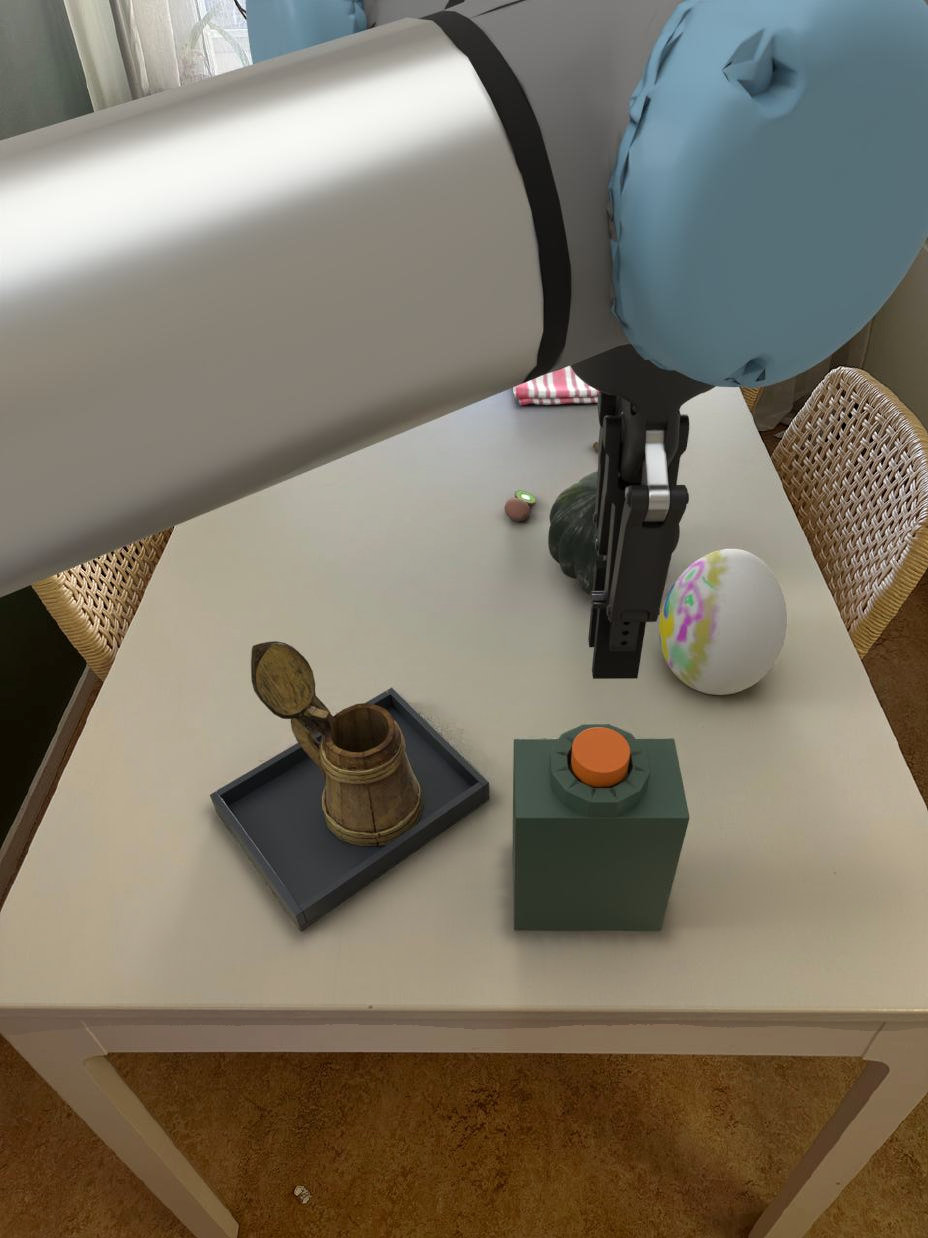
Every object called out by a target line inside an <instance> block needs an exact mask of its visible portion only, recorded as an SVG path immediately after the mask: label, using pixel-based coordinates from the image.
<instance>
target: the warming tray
mask: <svg viewBox="0 0 928 1238" xmlns="http://www.w3.org/2000/svg"><path fill="white" fill-rule="evenodd" d="M365 703H369V704H374V705H377V706H380V707H382V708H384V709H386V710H387V711H388V712H389V713H390V715H391V716H392V718H393V719H394V721H395V722H396V723H397V725H398V727H399V728H400V730H401V732H402V734H403V737H404V741H405V752H406V755H407V758H408V760H409V763H410V766H411V768H412V771H413V774H414V775H415V777H416V779H417V781H418V783H419V785H420V787H421V790H422V793H423V800H424V804H423V810H422V814H421V816H420V818H419V820H418V823H417V824H416V825H415V826H414V827H413V828H411V829H410V830H408V831H407V832H405V833H404V834H402V835H401V836H399V837H398V838H397V839H395V840H394V841H392V842H391V843H389V844H388V845H385V846H358V845H354V844H351V843H349V842H346V841H342V840H340V839H339V838H338V837H337V836H336V835H335V834H334V833H333V832H332V831H331V830H330V829H329V828H328V826H327V823H326V820H325V816H324V812H323V808H322V795H323V791H324V788H325V786H326V780H325V778H324V776H323V773H322V771H321V770H320V768H319V767H318V766H317V765H316V763H315V762H314V761H313V760H312V759H311V758H310V757H309V755H308V754H307V753H306V752H305V751H304V749H303V748H302V747H301V745H300V744H299V743H298V742H297V743H295V744H293V745H291V746H289V747H288V748H286V749H284V750H283V751H281V752H279V753H278V754H276V755H274V756H273V757H271V758H269V759H267V760H265V761H264V762H263V763H261V764H259V765H257V766H256V767H254V768H252V769H251V770H249V771H247V772H245V773H244V774H243V775H240V776H239V777H237V778H235V779H234V780H232V781H231V782H229V783H227V784H226V785H224V786H222V787H220V788H219V789H217V790H216V791H213V792H212V793H210V794H209V797H210V800H211V802H212V805H213V807H214V810H215V812H216V813H217V815H218V816H219V818H220V819H221V821H222V822H223V823H224V825H225V826H226V828H227V829H228V831H229V832H230V833H231V835H232V836H233V838H234V839H235V841H236V842H237V843H238V844H239V846H240V848H241V849H242V850H243V852H244V853H245V854H246V856H247V857H248V859H249V860H250V862H251V863H252V864H253V866H254V867H255V869H256V870H257V872H258V873H259V874H260V877H262V879H263V880H264V882H265V883H266V884H267V886H268V887H269V889H270V890H271V892H272V893H273V894H274V896H275V897H276V898H277V900H278V902H279V903H280V904H281V905H282V907H283V909H284V910H285V912H286V913H287V914H288V915H289V917H290V918H291V920H292V921H293V923H294V924H295V925H296V927H297V928H298V930H299V931H300V932H303V931H304V930H305V929H307V928H308V927H310V926H311V925H313V924H314V923H315V922H317V921H319V919H321V918H323V917H324V916H325V915H327V914H328V913H329V912H331V911H332V910H334V909H335V908H337V907H338V906H340V905H341V904H343V903H344V902H345V901H347V900H348V899H350V898H351V897H352V896H354V895H356V893H358V892H360V891H361V890H362V889H363V888H365V887H367V886H368V885H369V884H371V883H372V882H374V881H375V880H377V879H379V877H381V876H383V874H385V873H387V872H388V871H389V870H390V869H392V868H394V867H395V866H397V865H398V864H400V863H401V862H402V861H404V860H405V859H407V858H408V857H409V856H411V855H412V854H413V853H415V852H417V851H418V850H419V849H421V848H423V846H425V845H426V844H428V843H429V842H431V841H432V840H433V839H435V838H437V836H438V837H439V835H440V834H442V833H444V832H445V831H446V830H448V829H450V828H451V827H452V826H453V825H455V824H456V823H458V822H459V821H461V820H462V819H463V818H465V817H466V816H468V815H470V814H471V813H472V812H474V811H475V810H476V809H478V808H479V807H481V806H482V805H483V804H485V803H486V802H488V801H490V799H491V797H490V782H489V781H488V780H487V779H486V778H485V777H484V776H483V774H481V773H480V772H479V771H478V770H477V769H476V768H475V767H474V766H473V765H472V764H471V763H470V761H468V760H467V759H466V758H465V757H464V756H463V755H462V754H460V752H459V751H458V750H457V749H456V748H455V747H454V746H453V745H452V744H450V742H448V740H447V739H445V738H444V737H443V735H441V734H440V733H439V732H438V731H437V730H436V729H435V728H434V726H433V725H431V724H430V723H429V722H428V721H427V720H426V719H425V717H423V716H422V715H421V713H419V712H418V711H417V710H416V709H415V708H414V707H413V706H412V705H411V704H410V703H409V702H408V701H407V700H406V699H405V698H404V697H403V696H402V695H400V693H399V692H398V691H396V689H394V688H393V687H390V688H388V689H386V690H384V691H382V692H381V693H379V694H377V695H376V696H375V697H373V698H371V699H369V700H367V701H366V702H365ZM312 735H313V737H314V738H315V739H316V740H317V741H318V742H321V738H322V735H323V734H321V733H317V734H316V735H314V734H312Z"/></svg>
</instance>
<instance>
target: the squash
mask: <svg viewBox="0 0 928 1238" xmlns="http://www.w3.org/2000/svg"><path fill="white" fill-rule="evenodd" d="M597 473H598V470H597V471H594V472H591V473H589V474H587V475H585V476H583V477H582V478H581V479H579V481H578V482H575V483H573V484H571V485H570V486H568V488H566V489H565V488H564V490H563V491H561V492H560V493H559V494H558V496H557V497H556V498H555V500H554V502H553V504H552V506H551V508H550V512H549V523H550V525H549V528H548V536H547V543H548V550H549V554H550V556H551V557H552V559H553V560H554V561H555V562H556V563H557V564H558V565H559V568H560V570H561V572H562V573H563V574H564V575H565V576H566V577H568V578H569V579H573V580H577V582H578V584H579V586H580V588H581V590H582V591H583V592H584V593H586V595H589V596H591V591H593V582H594V571H595V560H603V557H604V556H598V555H597V550H595V541H596V539H597V535H598V528H595V524H594V522H593V514H594V513H595V504H596V488H597ZM680 533H681V526H680V524H679V525H678V529H677V533H676V538H675V542H674V547H673V551H672V554H673V553H674V551H676V549H677V547H678V544H679V540H680V536H681V534H680Z"/></svg>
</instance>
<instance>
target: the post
mask: <svg viewBox="0 0 928 1238" xmlns="http://www.w3.org/2000/svg"><path fill="white" fill-rule="evenodd" d="M595 727H603V728H608V729H611V730H614V731H616V732H618V733H619V734H620V735H622V736H623V737H624V738H625V740H626V741H627V743H628V745H629V747H630V758H629V765H628V770H627V774H626V776H625V777H624V778H623V779H622V781H620V782H619V783H617V784H616V785H613V786H610V787H603V788H601V787H593V786H590V785H587V784H586V783H584V782H582V781H581V780H580V779H578V778H577V776H576V775H575V774H574V772H573V770H572V767H571V756H572V745H573V742H574V740H575V738H576V737H577V736H578V735H579V734H580V733H581V732H583V731H584V730H587V729H590V728H595ZM512 751H513V757H512V758H513V761H512V763H513V765H512V851H511V852H512V853H511V854H512V856H511V857H512V859H511V860H512V861H511V862H512V900H513V901H512V902H513V903H512V904H513V907H512V908H513V930H514V931H635V932H636V931H640V932H641V931H642V932H643V931H646V932H649V931H651V932H653V931H654V932H656V931H657V932H658V931H659V932H661V931H662V928H663V924H664V920H665V916H666V913H667V912H666V911H667V908H668V904H669V900H670V897H671V894H672V893H671V892H672V890H673V885H674V880H675V877H676V873H677V869H678V865H679V862H680V857H681V854H682V849H683V846H684V842H685V837H686V833H687V831H688V826H689V822H690V819H691V818H690V811H689V808H688V802H687V797H686V791H685V786H684V781H683V776H682V771H681V766H680V761H679V756H678V751H677V746H676V741H675V738H673V737H672V738H667V737H666V738H665V737H661V738H657V737H656V738H651V737H650V738H649V737H648V738H636V737H635V736H634V735H633V734H632V733H631V732H629V731H627V730H624V729H622V728H620V727H617V726H615V725H612V724H609V723H582V724H579V725H577V726H575V727H573V728H571V729H569V730H567V731H564V732H563V733H562V734H560V735H559V737H558V738H513V749H512Z"/></svg>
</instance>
